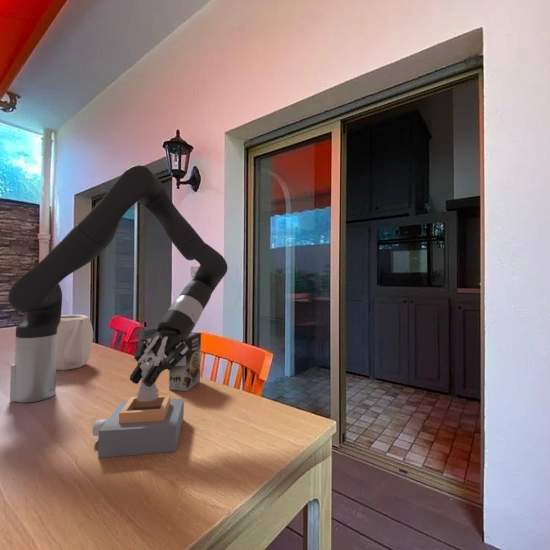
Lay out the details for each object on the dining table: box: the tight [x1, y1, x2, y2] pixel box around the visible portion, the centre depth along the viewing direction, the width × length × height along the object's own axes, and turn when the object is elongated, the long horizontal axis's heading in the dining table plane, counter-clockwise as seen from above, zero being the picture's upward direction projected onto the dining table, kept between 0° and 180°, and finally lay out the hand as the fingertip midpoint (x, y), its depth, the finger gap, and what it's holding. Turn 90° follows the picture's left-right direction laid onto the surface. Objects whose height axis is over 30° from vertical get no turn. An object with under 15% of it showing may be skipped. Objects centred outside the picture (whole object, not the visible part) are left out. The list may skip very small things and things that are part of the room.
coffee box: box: [168, 332, 202, 392], centre depth 98 cm, size 9×6×16 cm
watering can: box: [56, 314, 94, 371], centre depth 115 cm, size 16×27×19 cm, turn 49°
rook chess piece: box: [136, 359, 160, 402], centre depth 67 cm, size 4×4×8 cm
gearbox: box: [92, 394, 185, 459], centre depth 67 cm, size 17×14×7 cm
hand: (140, 383), depth 65 cm, fingers closed on rook chess piece, 3 cm apart
